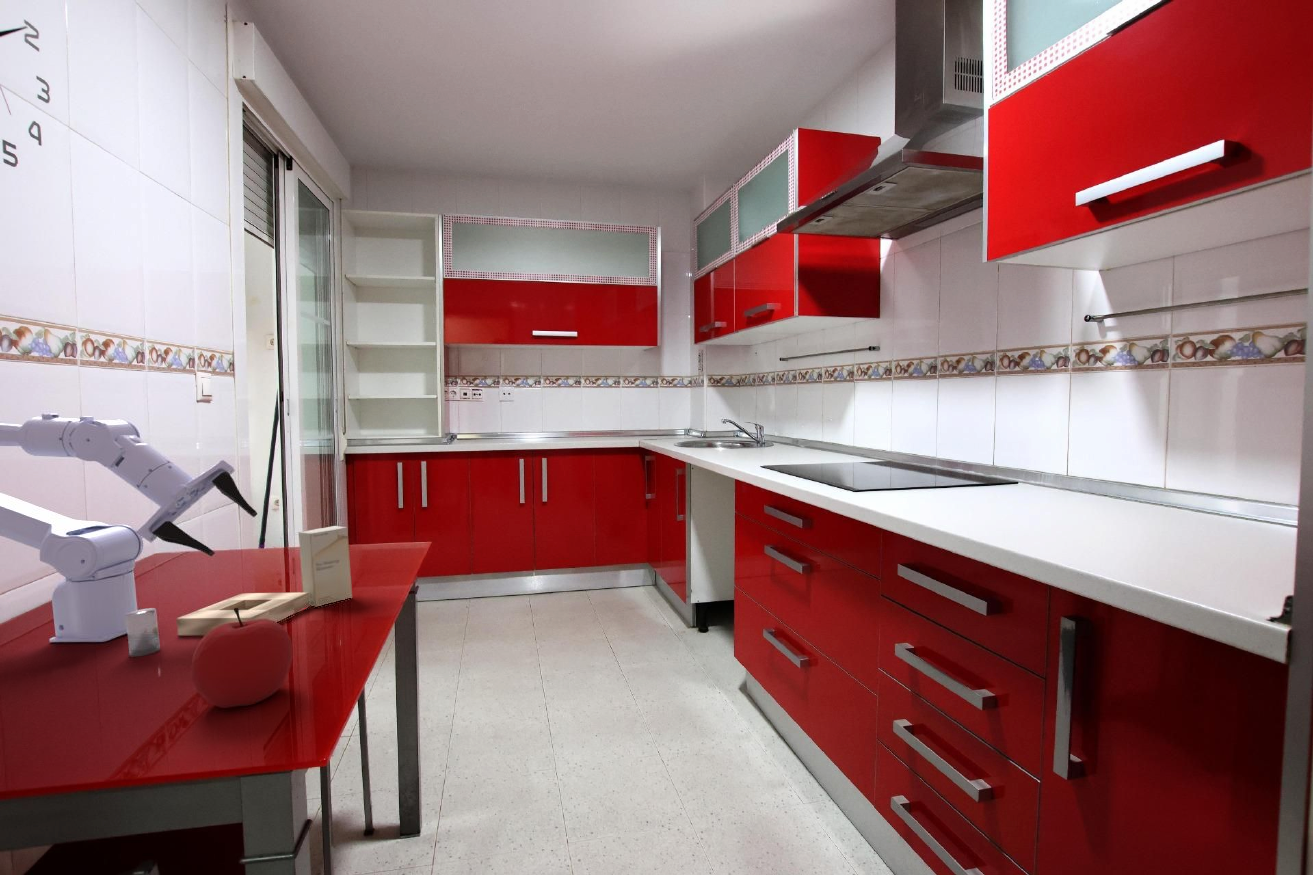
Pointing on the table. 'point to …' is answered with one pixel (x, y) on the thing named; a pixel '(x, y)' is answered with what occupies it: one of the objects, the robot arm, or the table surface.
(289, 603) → the wooden square frame
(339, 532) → the skincare box
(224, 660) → the apple
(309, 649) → the table surface
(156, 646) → the grey block
